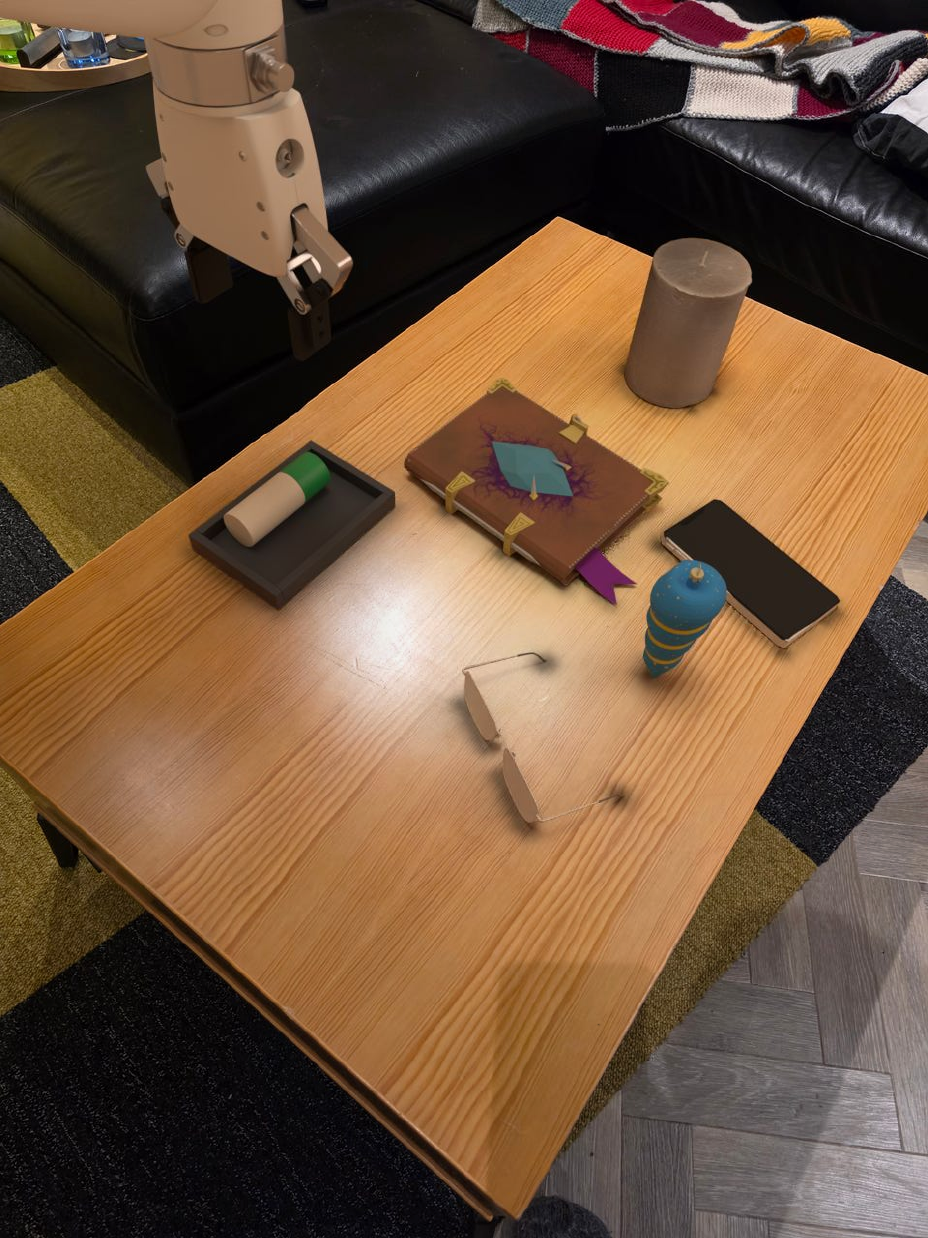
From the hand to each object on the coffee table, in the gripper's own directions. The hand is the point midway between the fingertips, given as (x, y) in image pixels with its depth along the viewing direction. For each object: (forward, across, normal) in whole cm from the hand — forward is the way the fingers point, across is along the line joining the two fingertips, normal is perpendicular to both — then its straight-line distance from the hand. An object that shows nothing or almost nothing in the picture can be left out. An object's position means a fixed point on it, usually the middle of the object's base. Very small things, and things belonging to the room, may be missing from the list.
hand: (262, 321), depth 63 cm
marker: (+20, 0, 0) cm, 20 cm away
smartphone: (+22, -35, -22) cm, 47 cm away
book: (+22, -16, -18) cm, 33 cm away
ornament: (+22, -34, -7) cm, 41 cm away
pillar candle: (+22, -16, -41) cm, 49 cm away
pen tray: (+22, 0, 0) cm, 22 cm away
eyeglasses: (+22, -30, +4) cm, 38 cm away
